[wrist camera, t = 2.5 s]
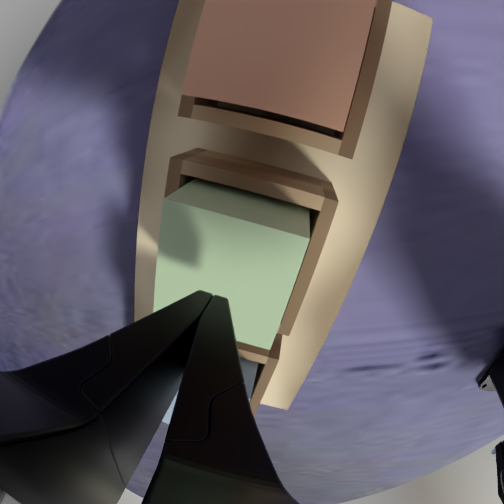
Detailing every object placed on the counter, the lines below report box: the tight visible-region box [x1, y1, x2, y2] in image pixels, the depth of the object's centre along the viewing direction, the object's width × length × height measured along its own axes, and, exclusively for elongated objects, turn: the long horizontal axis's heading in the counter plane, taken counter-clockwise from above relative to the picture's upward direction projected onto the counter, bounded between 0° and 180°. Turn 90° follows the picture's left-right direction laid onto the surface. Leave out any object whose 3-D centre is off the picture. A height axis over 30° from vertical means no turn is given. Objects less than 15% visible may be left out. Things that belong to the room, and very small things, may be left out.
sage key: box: [153, 178, 310, 350], centre depth 11 cm, size 4×4×3 cm
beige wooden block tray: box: [134, 0, 433, 416], centre depth 14 cm, size 11×24×5 cm, turn 167°
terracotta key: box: [181, 0, 376, 132], centre depth 8 cm, size 4×4×3 cm
